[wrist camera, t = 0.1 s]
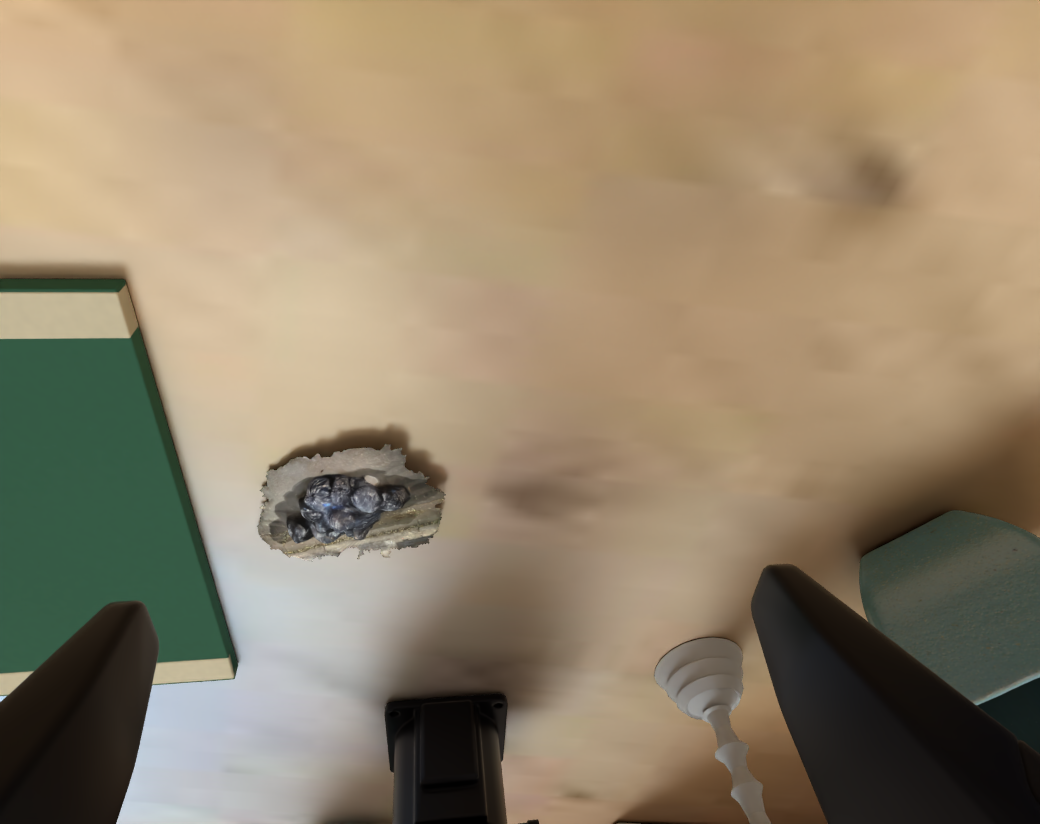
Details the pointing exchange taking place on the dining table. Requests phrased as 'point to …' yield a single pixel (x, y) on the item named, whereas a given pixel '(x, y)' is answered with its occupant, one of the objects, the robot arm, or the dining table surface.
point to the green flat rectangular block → (93, 486)
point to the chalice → (714, 707)
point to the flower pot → (965, 610)
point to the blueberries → (348, 504)
